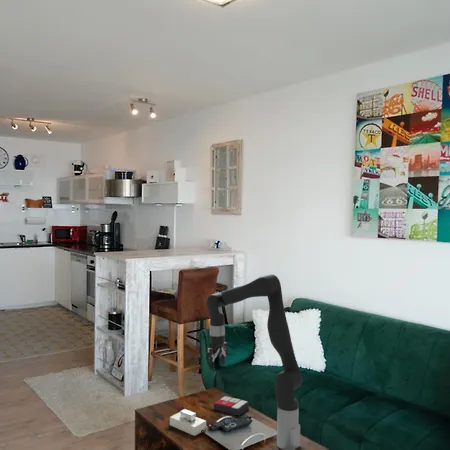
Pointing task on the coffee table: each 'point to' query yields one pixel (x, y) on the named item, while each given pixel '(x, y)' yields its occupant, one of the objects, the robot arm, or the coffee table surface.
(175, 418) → the cream white box
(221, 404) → the dark red white box
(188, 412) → the clip
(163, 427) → the coffee table surface
